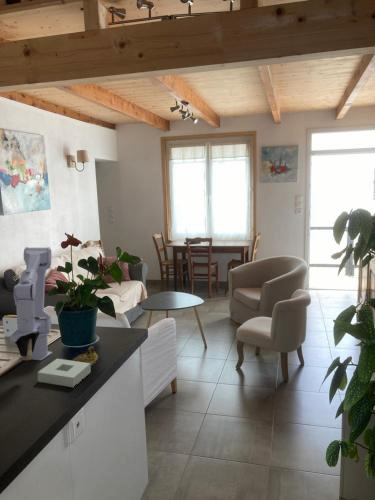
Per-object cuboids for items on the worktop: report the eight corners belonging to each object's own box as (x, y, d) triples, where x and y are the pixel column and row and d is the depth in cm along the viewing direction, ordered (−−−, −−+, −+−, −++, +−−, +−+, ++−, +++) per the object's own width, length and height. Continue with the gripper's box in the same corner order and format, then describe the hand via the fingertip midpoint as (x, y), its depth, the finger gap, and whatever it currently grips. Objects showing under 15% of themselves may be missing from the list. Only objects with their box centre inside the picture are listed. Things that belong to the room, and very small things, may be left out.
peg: (20, 359, 141) (19, 340, 140) (26, 356, 144) (25, 337, 143) (28, 360, 140) (27, 341, 139) (34, 357, 143) (33, 338, 142)
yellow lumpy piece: (88, 374, 150) (103, 357, 164) (89, 362, 149) (104, 346, 163) (65, 368, 151) (82, 352, 166) (66, 357, 150) (83, 342, 165)
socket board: (37, 381, 140) (37, 372, 139) (57, 367, 151) (57, 358, 151) (73, 387, 136) (73, 377, 136) (90, 372, 148) (90, 363, 147)
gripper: (22, 324, 132) (23, 363, 134) (47, 312, 146) (48, 347, 148) (4, 322, 134) (5, 360, 136) (31, 310, 148) (32, 345, 150)
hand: (27, 353), depth 142 cm, fingers closed on peg, 3 cm apart
